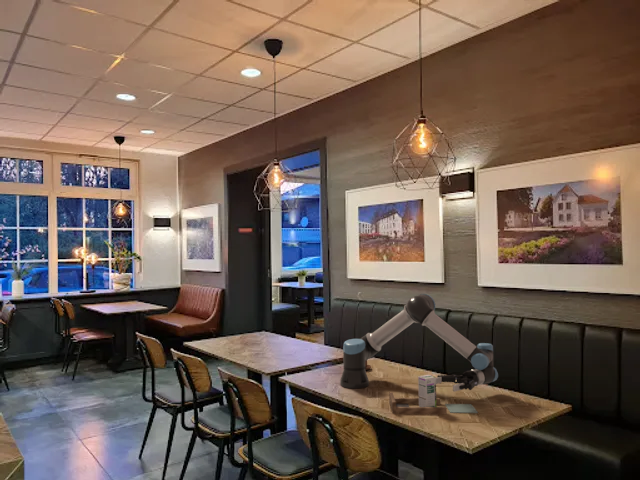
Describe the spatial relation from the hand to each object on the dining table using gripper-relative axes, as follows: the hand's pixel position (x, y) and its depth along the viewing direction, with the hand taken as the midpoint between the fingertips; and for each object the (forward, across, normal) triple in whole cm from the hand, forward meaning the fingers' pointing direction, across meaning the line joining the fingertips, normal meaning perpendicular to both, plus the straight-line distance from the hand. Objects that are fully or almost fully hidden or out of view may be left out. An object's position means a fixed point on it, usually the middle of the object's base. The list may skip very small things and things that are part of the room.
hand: (442, 385), depth 229 cm
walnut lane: (+14, +3, -9) cm, 16 cm away
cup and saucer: (-12, +76, -9) cm, 77 cm away
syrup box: (+10, 0, -9) cm, 13 cm away
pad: (-2, -9, -9) cm, 13 cm away
